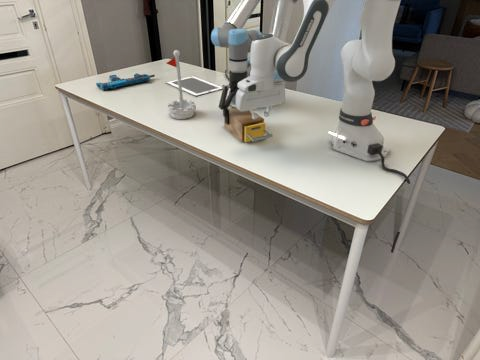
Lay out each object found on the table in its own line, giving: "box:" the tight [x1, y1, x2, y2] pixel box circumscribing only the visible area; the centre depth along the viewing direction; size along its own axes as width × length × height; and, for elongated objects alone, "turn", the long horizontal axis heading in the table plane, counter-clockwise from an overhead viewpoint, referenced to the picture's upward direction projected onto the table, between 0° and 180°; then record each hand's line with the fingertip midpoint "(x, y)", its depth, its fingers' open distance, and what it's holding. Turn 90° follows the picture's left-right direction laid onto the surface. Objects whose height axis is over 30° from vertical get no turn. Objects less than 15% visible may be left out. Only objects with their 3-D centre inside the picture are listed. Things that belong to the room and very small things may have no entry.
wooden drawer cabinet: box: [223, 107, 265, 143], centre depth 147 cm, size 17×10×8 cm, turn 28°
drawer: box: [244, 121, 274, 143], centre depth 142 cm, size 22×9×6 cm, turn 28°
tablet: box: [165, 75, 223, 97], centre depth 203 cm, size 32×20×1 cm, turn 41°
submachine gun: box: [95, 73, 156, 91], centre depth 209 cm, size 34×4×25 cm
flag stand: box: [165, 49, 197, 120], centre depth 157 cm, size 13×13×30 cm
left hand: (238, 121), depth 150 cm, fingers closed on wooden drawer cabinet, 10 cm apart
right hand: (260, 117), depth 132 cm, fingers open, 4 cm apart
